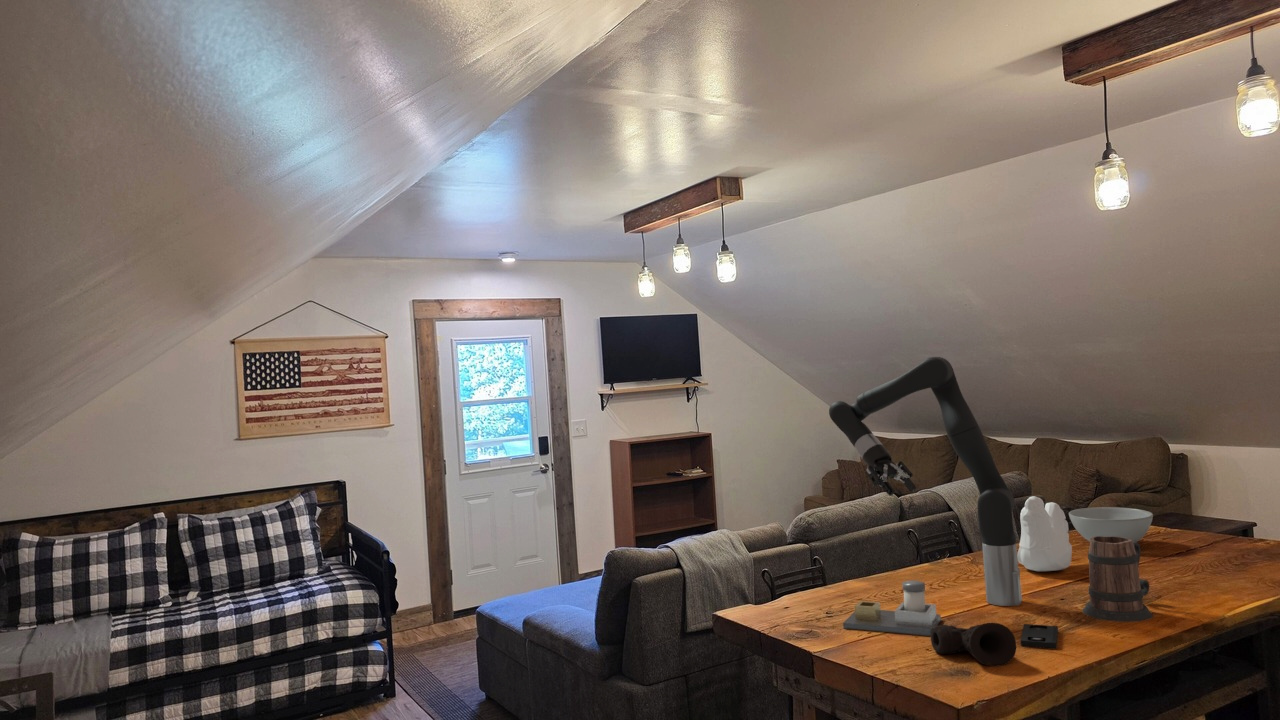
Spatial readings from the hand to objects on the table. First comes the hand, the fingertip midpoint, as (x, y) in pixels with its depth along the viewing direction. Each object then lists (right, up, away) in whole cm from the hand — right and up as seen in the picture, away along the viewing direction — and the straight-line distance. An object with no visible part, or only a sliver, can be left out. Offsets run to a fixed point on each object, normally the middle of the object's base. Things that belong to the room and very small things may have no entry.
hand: (903, 492), depth 249 cm
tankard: (+55, -30, -18) cm, 65 cm away
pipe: (+2, -33, -46) cm, 56 cm away
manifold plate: (-8, -34, -17) cm, 39 cm away
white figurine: (+59, -31, +31) cm, 74 cm away
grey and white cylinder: (-3, -32, -20) cm, 37 cm away
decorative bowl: (+94, -29, +57) cm, 114 cm away
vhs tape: (+23, -32, -37) cm, 54 cm away
